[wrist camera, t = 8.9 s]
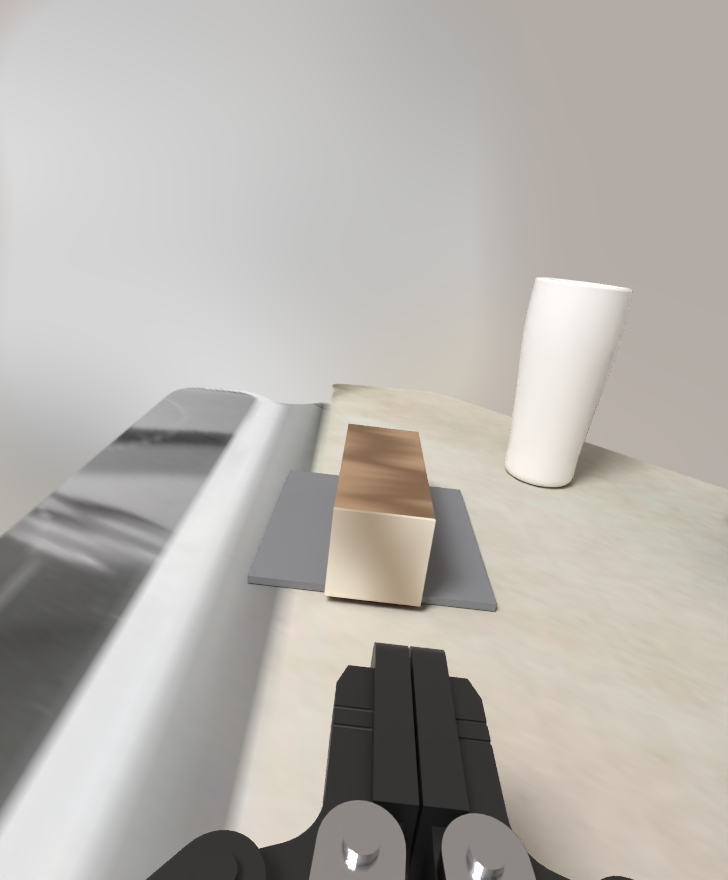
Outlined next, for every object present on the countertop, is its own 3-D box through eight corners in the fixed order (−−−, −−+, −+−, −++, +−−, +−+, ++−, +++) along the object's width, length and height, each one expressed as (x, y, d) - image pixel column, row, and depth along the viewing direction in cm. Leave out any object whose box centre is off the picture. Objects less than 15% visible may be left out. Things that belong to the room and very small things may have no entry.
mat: (459, 495, 39) (460, 490, 39) (494, 611, 27) (496, 604, 26) (289, 475, 39) (290, 469, 39) (247, 582, 26) (247, 575, 26)
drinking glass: (489, 454, 47) (527, 274, 42) (569, 466, 47) (616, 285, 42) (499, 486, 41) (544, 279, 36) (591, 500, 41) (650, 292, 36)
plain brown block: (420, 606, 26) (408, 495, 37) (435, 521, 24) (418, 432, 35) (324, 595, 26) (341, 487, 37) (333, 509, 24) (348, 423, 35)
